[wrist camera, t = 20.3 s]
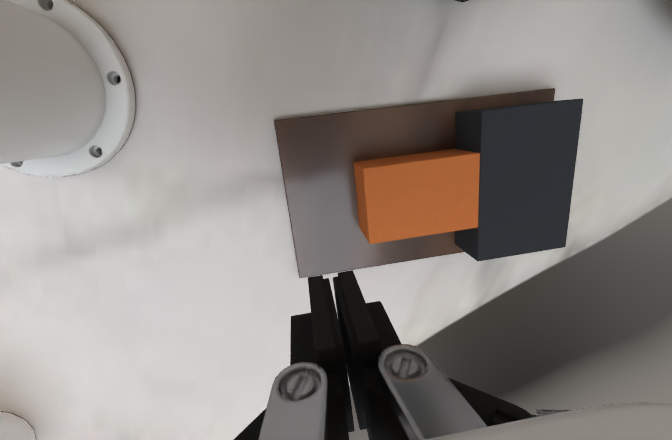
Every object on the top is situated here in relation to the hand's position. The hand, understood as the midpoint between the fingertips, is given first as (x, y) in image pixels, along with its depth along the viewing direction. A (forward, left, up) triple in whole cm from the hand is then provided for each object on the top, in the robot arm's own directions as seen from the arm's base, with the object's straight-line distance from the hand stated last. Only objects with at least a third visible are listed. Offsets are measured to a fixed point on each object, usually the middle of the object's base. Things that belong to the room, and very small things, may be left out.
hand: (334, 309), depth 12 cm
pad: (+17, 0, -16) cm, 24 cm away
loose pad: (+9, 0, -16) cm, 19 cm away
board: (+10, 0, -17) cm, 20 cm away
